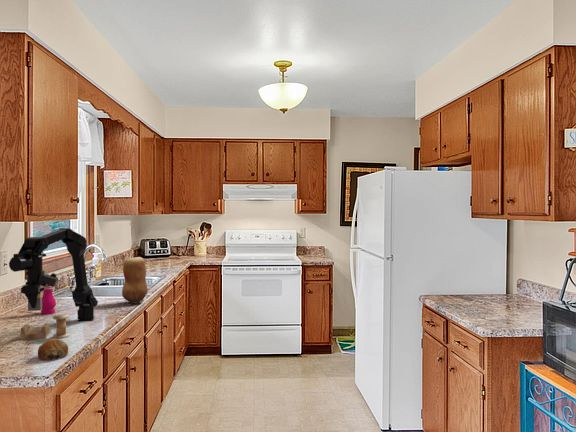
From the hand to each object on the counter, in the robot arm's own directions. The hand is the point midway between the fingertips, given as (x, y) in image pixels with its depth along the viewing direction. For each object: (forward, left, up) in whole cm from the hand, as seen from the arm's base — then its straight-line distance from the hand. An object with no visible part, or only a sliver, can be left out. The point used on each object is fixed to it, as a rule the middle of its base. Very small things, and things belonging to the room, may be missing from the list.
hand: (34, 307), depth 207 cm
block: (0, 0, -1) cm, 1 cm away
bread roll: (-12, +30, -12) cm, 35 cm away
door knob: (-10, +2, -12) cm, 16 cm away
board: (0, -2, -12) cm, 12 cm away
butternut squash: (-37, -64, -12) cm, 74 cm away
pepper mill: (+4, -47, -12) cm, 49 cm away
